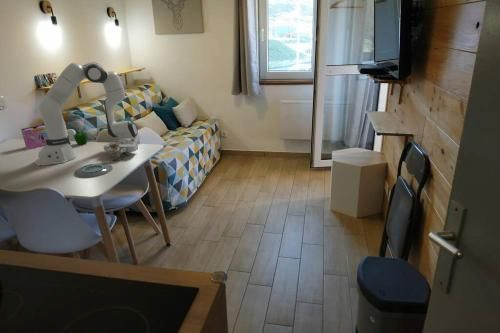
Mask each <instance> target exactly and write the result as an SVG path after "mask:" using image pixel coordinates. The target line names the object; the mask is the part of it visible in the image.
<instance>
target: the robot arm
mask: <svg viewBox="0 0 500 333" xmlns="http://www.w3.org/2000/svg"><path fill="white" fill-rule="evenodd" d="M85 79H87V80H88V81H89V82H91V83H97V84H102V85H103V88H104V91H105V95H106V98H105V99H104V100H103V103H104V104H103V105H104V106H103V107H104V112H105V118H106V119H105V120H106V126H107V128H106V130H107V133H108V135H109V136H111V137H112V138H114V139H116V138H120V137H122V138H120V139H118V141H117V143H119V146H118V147H119V149H120V150H119V153H120V154H122V153H124V152H127V153H133V152H136V151H138V150H139V144H140V140H141V136H140V134H139V131H138V127H137V125H136V123H135V122H133V120H124V121H123V120H122V121H116V118H115V111H114V108H115V107H116V106H117V105H119V104H121V103H122V102H123V101H124V99H125V98H126V92H125V91H126V90H125V88H124V85H123V82H122V80H121V78H120V75H119V74H118V73H117V72H115V71H113V70H109V71H105V69H104V68H103V66H102V65H100V64H99V63H98V62H94V61H93V62H88V63H86V64H84V65H81V64H79V63H77V62H71V63H70V64H68V65H67V66H66V67H64V69H63V70H62V71H61V73H60V74H59V76H58V77H57V78H56V79H55V81H54V82H53V83H52V85H51V87H50V88H49V90H47V92H46V94H44V97H42V99H41V101H40V102H39V104H38V110H39V114H40V116H41V119H42V122H43V125H45V128H46V132H47V136H48V138H45V143H46V146H42V147H41V149H40V150H39V152H38V156H37V157H38V158H37V159H36V160H35V163H34V164H35V165H36V166H38V167H39V166H40V165H41V166H47V165H49V166H50V165H57V164H58V165H59V164H64V163H67V162H68V161H72V160H73V159H75V158H76V154H75V152H74V150H73V148H72V147H73V146H72V145H71V144H72V143H71V138H70V136H69V133H68V131H67V126H66V125H67V124H66V122H65V119H64V115H63V113H62V112H63V111H62V108H63V107H64V106H65V104H66V103H67V102H68V100H69V99H70V98H71V97H72V95H73V93H74V92H75V91H76V90H77V88H78V87H79V86H80V84H81V82H82V81H83V80H85ZM111 143H112V142H109V143H107V144H105V145H103V151H104V152H107V153H110V154H111V150H110V149H111V147H109V144H111Z"/></svg>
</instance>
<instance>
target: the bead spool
mask: <svg viewBox="0 0 500 333" xmlns="http://www.w3.org/2000/svg"><path fill="white" fill-rule="evenodd" d="M110 143H111V144H109V143H108V144H109V147H111V149H110V150H111V153H110V155H111V161H112V162H119V161H121V160H122V156H121V153H119V150H120V149H119V147H118V146H119V143H118V142H110Z"/></svg>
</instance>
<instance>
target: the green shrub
mask: <svg viewBox="0 0 500 333" xmlns="http://www.w3.org/2000/svg"><path fill="white" fill-rule="evenodd" d="M73 139H74V141H75V142H76V145H79V146H82V145H86V144H87V143H88V134H87V133H86V132H82V131H81V129H78V132H76V133H75V134H74V135H73Z"/></svg>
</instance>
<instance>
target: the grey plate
mask: <svg viewBox="0 0 500 333" xmlns="http://www.w3.org/2000/svg"><path fill="white" fill-rule="evenodd" d="M112 170H113V165H112V164H110V163H107V162H106V163H105V162H104V163H103V162H98V163H90V164H87V165H84V166H81V167H79V168H77V169H75V171H74V175H75V177H77V178H84V179H87V178H95V177H100V176H103V175H106V174H108V173H110V172H111V171H112Z"/></svg>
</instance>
